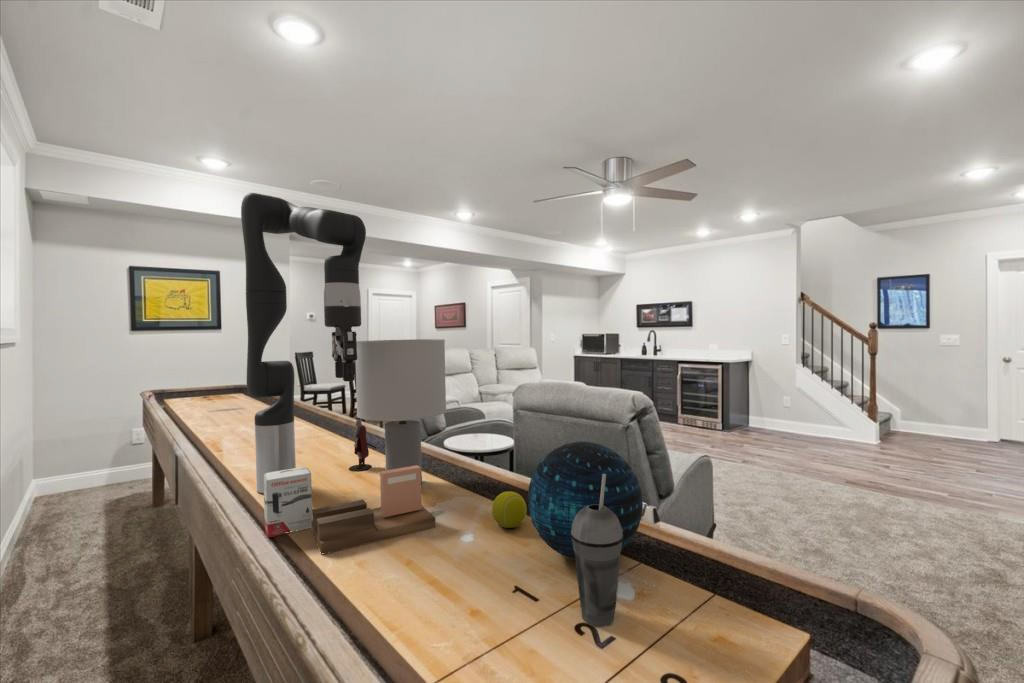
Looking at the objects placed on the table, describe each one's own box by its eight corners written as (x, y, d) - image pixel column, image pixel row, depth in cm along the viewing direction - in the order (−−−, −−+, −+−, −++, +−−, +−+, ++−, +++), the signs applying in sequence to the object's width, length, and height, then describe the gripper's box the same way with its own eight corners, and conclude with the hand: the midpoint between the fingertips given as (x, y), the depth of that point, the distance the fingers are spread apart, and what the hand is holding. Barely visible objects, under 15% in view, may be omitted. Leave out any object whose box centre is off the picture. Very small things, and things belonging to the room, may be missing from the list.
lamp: (465, 479, 128) (462, 339, 127) (403, 506, 108) (399, 341, 108) (404, 467, 140) (401, 339, 139) (339, 490, 121) (335, 341, 120)
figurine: (354, 464, 144) (353, 415, 144) (377, 465, 143) (376, 415, 143) (344, 471, 137) (343, 420, 137) (368, 471, 136) (367, 420, 136)
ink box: (267, 538, 93) (265, 479, 93) (264, 530, 97) (262, 473, 97) (313, 528, 98) (312, 471, 97) (309, 520, 102) (307, 465, 102)
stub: (381, 514, 98) (380, 471, 98) (418, 506, 102) (417, 465, 102) (383, 517, 96) (382, 473, 96) (421, 509, 101) (420, 467, 100)
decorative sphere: (506, 551, 86) (504, 442, 85) (583, 522, 98) (582, 426, 97) (587, 600, 70) (585, 466, 69) (667, 558, 82) (666, 444, 81)
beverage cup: (566, 603, 69) (564, 467, 69) (615, 600, 70) (613, 465, 69) (578, 635, 62) (575, 484, 61) (632, 631, 62) (630, 481, 62)
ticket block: (311, 531, 96) (311, 506, 96) (415, 508, 107) (415, 486, 107) (321, 554, 86) (320, 527, 86) (435, 526, 97) (434, 502, 97)
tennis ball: (533, 528, 95) (532, 494, 95) (503, 536, 92) (502, 501, 92) (515, 517, 101) (514, 484, 101) (486, 524, 98) (485, 490, 98)
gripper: (319, 306, 107) (321, 378, 107) (330, 302, 94) (332, 383, 95) (353, 306, 111) (355, 375, 111) (368, 303, 98) (370, 381, 99)
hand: (344, 379), depth 103 cm, fingers open, 8 cm apart
